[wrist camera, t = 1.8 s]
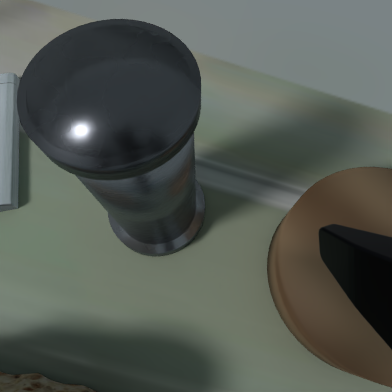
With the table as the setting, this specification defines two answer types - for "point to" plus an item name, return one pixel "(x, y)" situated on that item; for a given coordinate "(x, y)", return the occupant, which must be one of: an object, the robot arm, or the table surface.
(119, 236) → the grey metal cylinder
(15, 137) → the hard drive
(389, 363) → the stand
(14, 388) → the rock
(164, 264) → the table surface
